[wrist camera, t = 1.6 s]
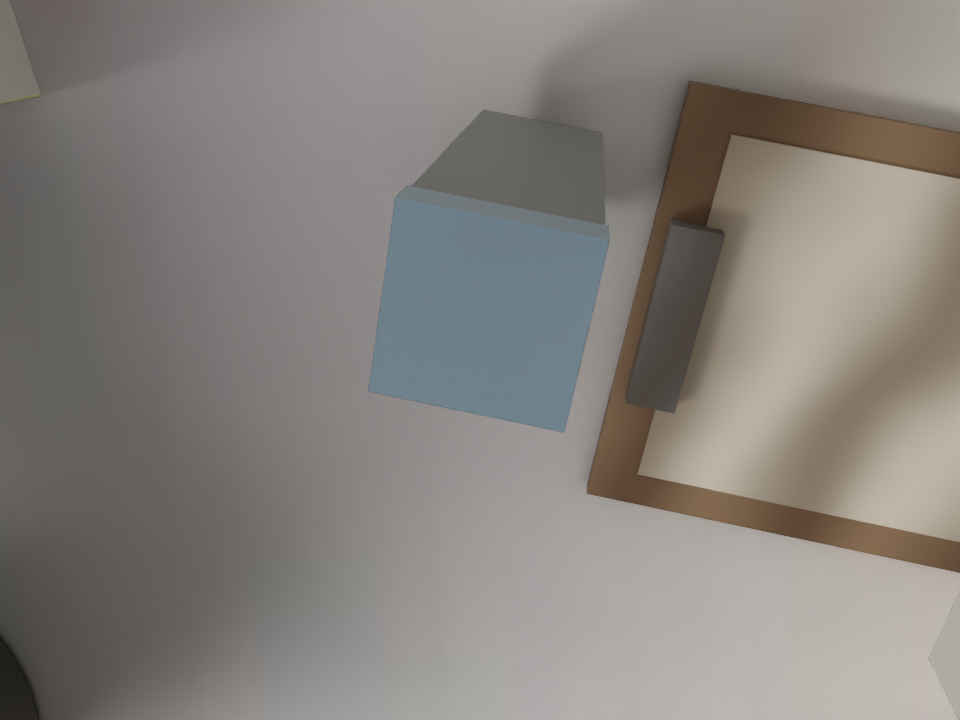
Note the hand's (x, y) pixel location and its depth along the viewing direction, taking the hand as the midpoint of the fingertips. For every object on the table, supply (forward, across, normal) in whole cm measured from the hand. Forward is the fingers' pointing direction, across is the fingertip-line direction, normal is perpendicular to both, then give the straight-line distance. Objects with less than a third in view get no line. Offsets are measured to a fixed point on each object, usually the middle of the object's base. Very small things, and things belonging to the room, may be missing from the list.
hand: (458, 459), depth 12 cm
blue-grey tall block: (+19, 0, 0) cm, 19 cm away
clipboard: (+19, +12, -3) cm, 23 cm away
